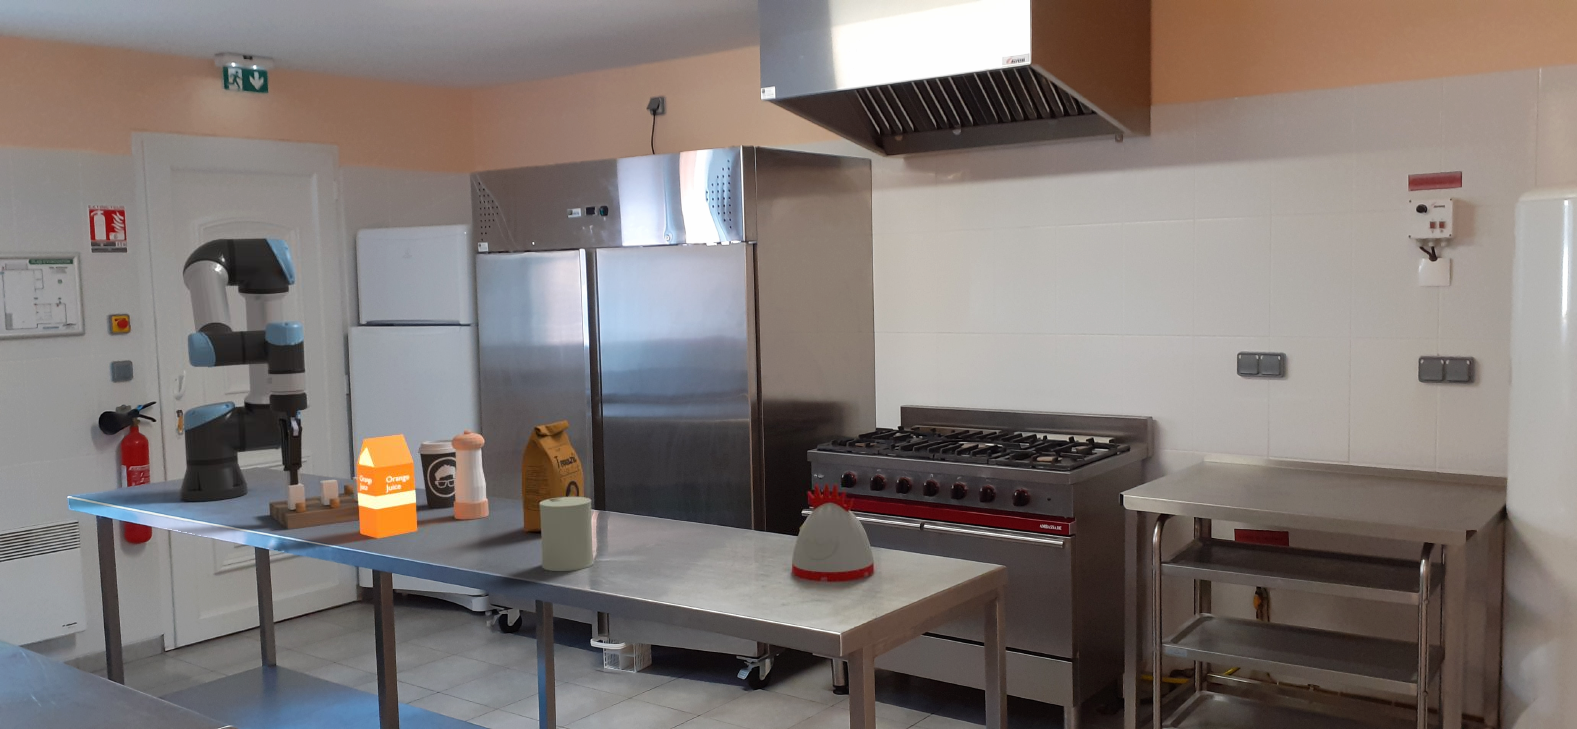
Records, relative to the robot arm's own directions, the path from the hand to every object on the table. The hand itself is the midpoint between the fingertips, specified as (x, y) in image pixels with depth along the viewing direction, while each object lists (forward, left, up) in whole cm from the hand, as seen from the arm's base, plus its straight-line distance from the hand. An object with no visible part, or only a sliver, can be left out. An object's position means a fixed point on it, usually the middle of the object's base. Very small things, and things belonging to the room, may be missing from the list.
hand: (293, 498), depth 248 cm
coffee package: (+47, +41, -5) cm, 63 cm away
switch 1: (+2, 0, -2) cm, 3 cm away
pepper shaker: (+22, +32, -5) cm, 39 cm away
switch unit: (-2, +7, -5) cm, 9 cm away
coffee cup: (+5, +31, -5) cm, 32 cm away
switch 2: (+2, +7, -2) cm, 7 cm away
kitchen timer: (+113, +63, -5) cm, 130 cm away
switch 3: (+2, +14, -2) cm, 14 cm away
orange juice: (+26, +13, -5) cm, 30 cm away
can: (+78, +30, -5) cm, 84 cm away
